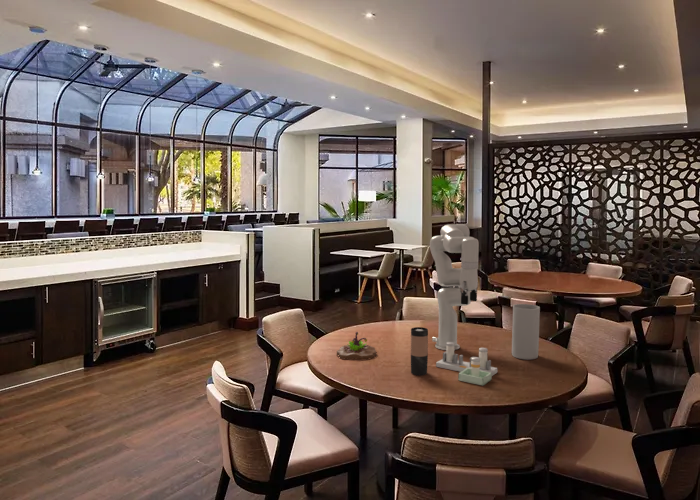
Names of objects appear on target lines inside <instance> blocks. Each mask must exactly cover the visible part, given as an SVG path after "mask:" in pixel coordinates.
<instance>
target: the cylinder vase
mask: <svg viewBox="0 0 700 500" xmlns="http://www.w3.org/2000/svg"><path fill="white" fill-rule="evenodd" d="M540 311H541V307H540V305H539V306H538V305H535V304H526V303H517V304H514V305H512V332H511V334H512V335H511V336H512V337H511V355H512V357H514V358H516V359H519V360H525V361H526V360H527V361H530V360H535V359H538V357H539V344H540V343H539V342H540V317H541V316H540V315H541V313H540Z"/></svg>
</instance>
